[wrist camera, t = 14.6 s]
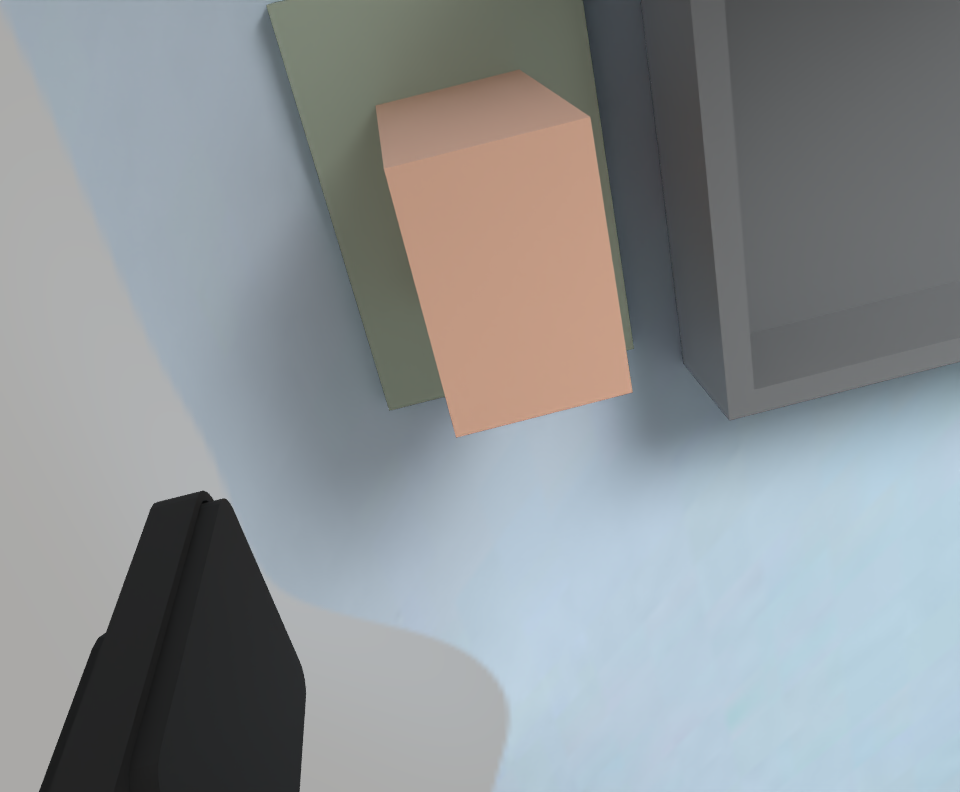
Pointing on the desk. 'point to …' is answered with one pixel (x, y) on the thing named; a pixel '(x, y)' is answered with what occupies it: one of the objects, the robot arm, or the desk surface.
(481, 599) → the desk surface
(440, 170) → the block
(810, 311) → the equipment case
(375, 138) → the olive mat
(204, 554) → the robot arm
